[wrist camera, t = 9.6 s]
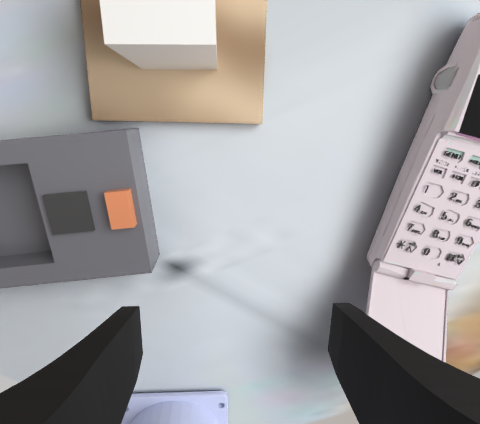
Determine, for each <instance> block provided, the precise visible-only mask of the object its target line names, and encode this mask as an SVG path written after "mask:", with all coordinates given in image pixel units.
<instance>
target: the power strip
mask: <svg viewBox="0 0 480 424" xmlns="http://www.w3.org/2000/svg"><path fill="white" fill-rule="evenodd" d="M159 255H160V253H159V247H158V241H157V235H156V230H155V224H154V218H153V212H152V206H151V200H150V194H149V188H148V182H147V176H146V170H145V164H144V158H143V152H142V146H141V140H140V134H139V128H137V129H126V130H115V131H103V132H92V133H81V134H69V135H58V136H46V137H35V138H24V139H12V140H1V141H0V288H8V287H18V286H28V285H37V284H47V283H57V282H66V281H76V280H86V279H95V278H105V277H115V276H124V275H134V274H144V273H152V270H153V268H154V266H155V264H156V262H157V259H158V257H159Z"/></svg>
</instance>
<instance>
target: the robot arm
mask: <svg viewBox="0 0 480 424" xmlns="http://www.w3.org/2000/svg"><path fill="white" fill-rule="evenodd" d="M328 351H329V354H330V358H331V361H332V364H333V367H334V370H335V373H336V375H337V378H338V380H339V382H340V384H341V386H342V388H343V390H344V393H345V395H346V397H347V399H348V401H349V403H350V405H351V407H352V409H353V411H354V413H355V415H356V417H357V420H358V422H359V424H480V379H479V378H477V377H475V376H472V375H470V374H468V373H466V372H464V371H461V370H459V369H457V368H455V367H453V366H451V365H449V364H447V363H445V362H443V361H441V360H439V359H438V358H436V357H434V356H432V355H430V354H428V353H426V352H425V351H423V350H421V349H420V348H418V347H416V346H415V345H413V344H411V343H409V342H408V341H406V340H405V339H403V338H401V337H400V336H398V335H397V334H395V333H394V332H392V331H391V330H389V329H388V328H386V327H385V326H383V325H382V324H380V323H379V322H377V321H376V320H374V319H373V318H371V317H370V316H368V315H367V314H365V313H364V312H362V311H361V310H359V309H358V308H356V307H355V306H353V305H351V304H350V303H333V309H332V318H331V327H330V336H329V344H328ZM142 355H143V350H142V336H141V322H140V309H139V306H128V307H121V308H120V309H119V310H117V311H116V312H115V313H114V314H113V315H111V316H110V317H109V318H108V319H107V320H106V321H104V322H103V323H102V324H101V325H100V326H98V327H97V328H96V329H95V330H94V331H92V332H91V333H90V334H89V335H88V336H86V337H85V338H84V339H83V340H81V341H80V342H79V343H77V344H76V345H75V346H73V347H72V348H71V349H69V350H68V351H67V352H65V353H64V354H63V355H61V356H60V357H59V358H57V359H56V360H54V361H53V362H51V363H50V364H48V365H47V366H45V367H44V368H42V369H41V370H39V371H38V372H36V373H34V374H33V375H31V376H30V377H28V378H26V379H25V380H23V381H21V382H20V383H18V384H16V385H14V386H12V387H11V388H9V389H7V390H5V391H3V392H2V393H0V424H228V394H227V393H226V392H224V391H202V392H171V393H140V394H132V393H133V390H134V387H135V384H136V381H137V377H138V373H139V369H140V364H141V360H142ZM219 403H223V404H219Z"/></svg>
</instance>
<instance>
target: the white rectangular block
mask: <svg viewBox="0 0 480 424" xmlns="http://www.w3.org/2000/svg"><path fill="white" fill-rule="evenodd" d="M100 9H101V18H102V27H103V36H104V44H105V45H106V46H108V47H109V48H111V49H113V50H114V51H116V52H117V53H119V54H120V55H122V56H123V57H125V58H126V59H128V60H129V61H131V62H132V63H134V64H135V65H137V66H138V67H140V68H141V69H143V70H217V41H216V2H215V0H100Z"/></svg>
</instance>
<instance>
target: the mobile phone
mask: <svg viewBox="0 0 480 424" xmlns="http://www.w3.org/2000/svg"><path fill="white" fill-rule="evenodd" d="M430 88H431V91H432V93H433V95H432V97H431V100H430V102H429V104H428V107H427V109H426V111H425V114H424V116H423V118H422V121H421V123H420V126H419V128H418V130H417V133H416V135H415V137H414V140H413V142H412V144H411V147H410V149H409V151H408V154H407V156H406V158H405V161H404V163H403V165H402V168H401V170H400V172H399V175H398V177H397V180H396V182H395V185H394V187H393V190H392V192H391V195H390V198H389V200H388V203H387V205H386V208H385V210H384V213H383V215H382V218H381V220H380V223H379V225H378V228H377V230H376V233H375V235H374V238H373V240H372V243H371V245H370V248H369V250H368V253H367V260H368V262H369V264H370V266H371V267H372V272H371V279H370V286H369V294H368V301H367V309H366V314H367V315H368V316H370V317H371V318H373V319H374V320H376V321H377V322H379V323H380V324H382V325H383V326H385V327H386V328H388V329H389V330H391V331H392V332H394V333H395V334H397V335H398V336H400V337H401V338H403V339H405V340H406V341H408V342H409V343H411V344H413V345H415V346H416V347H418V348H420V349H421V350H423V351H425V352H426V353H428V354H430V355H432V356H434V357H436V358H438V359H439V360H441V361H443V362H445V363H446V339H447V312H448V290H453V289H454V288H455V287H456V286H457V285H458V284H457V280H458V278H459V276H460V274H461V273H462V271H463V269H464V267H465V265H466V263H467V262H468V260H469V258H470V256H471V255H472V253H473V251H474V249H475V247H476V246H477V244H478V242H479V240H480V13H478V14H476V15H475V16H474V17H472V18H471V19H470V20H469V21H468V22H467V23H466V25H465V27H464V29H463V31H462V33H461V35H460V37H459V39H458V41H457V44H456V46H455V48H454V50H453V52H452V54H451V56H450V58H449V60H448V62H447V64H446V65H445V66H444V67H443V68H441V69H440V70H438V71H437V73H436V74H435V76H434V77H433V80H432V83H431V86H430ZM445 295H446V298H445Z"/></svg>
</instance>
